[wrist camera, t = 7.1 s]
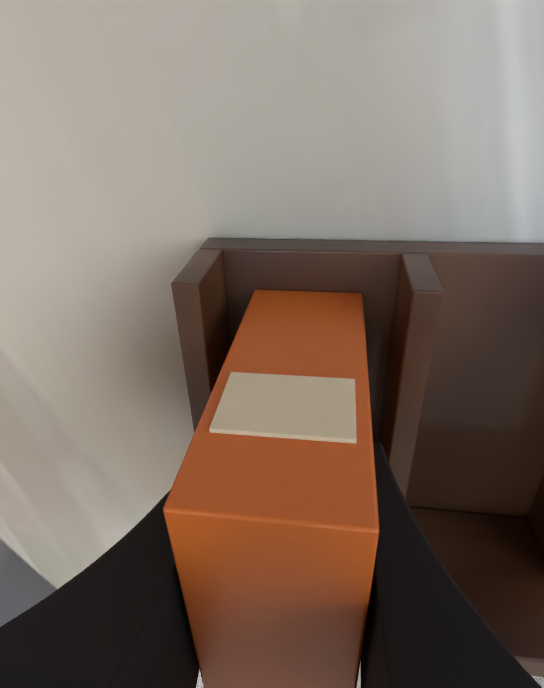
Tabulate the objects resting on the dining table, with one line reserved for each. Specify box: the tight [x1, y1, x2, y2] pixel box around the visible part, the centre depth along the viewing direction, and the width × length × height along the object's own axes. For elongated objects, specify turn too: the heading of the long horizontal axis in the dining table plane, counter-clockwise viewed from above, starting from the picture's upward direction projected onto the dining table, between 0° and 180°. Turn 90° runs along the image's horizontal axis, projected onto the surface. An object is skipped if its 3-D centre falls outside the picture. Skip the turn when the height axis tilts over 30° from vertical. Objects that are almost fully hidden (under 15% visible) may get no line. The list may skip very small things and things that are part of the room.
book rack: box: [171, 238, 544, 677], centre depth 13 cm, size 18×11×6 cm, turn 91°
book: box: [163, 290, 379, 688], centre depth 12 cm, size 3×8×8 cm, turn 1°
